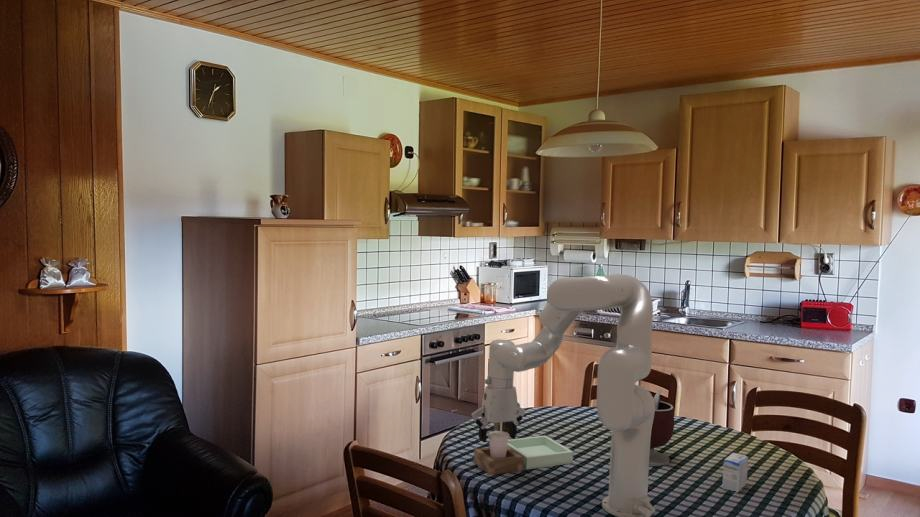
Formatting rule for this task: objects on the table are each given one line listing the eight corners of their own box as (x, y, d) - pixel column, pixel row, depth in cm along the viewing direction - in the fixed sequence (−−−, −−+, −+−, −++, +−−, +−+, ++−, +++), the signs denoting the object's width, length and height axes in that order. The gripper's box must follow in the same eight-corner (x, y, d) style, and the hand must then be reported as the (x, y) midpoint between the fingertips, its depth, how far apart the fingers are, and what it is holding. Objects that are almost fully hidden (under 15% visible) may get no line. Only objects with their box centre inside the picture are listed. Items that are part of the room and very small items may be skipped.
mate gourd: (665, 470, 192) (668, 404, 191) (620, 460, 200) (622, 396, 199) (678, 455, 205) (681, 393, 204) (635, 446, 213) (638, 386, 212)
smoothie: (507, 471, 187) (508, 423, 186) (485, 469, 188) (486, 421, 188) (509, 463, 193) (511, 417, 193) (488, 461, 195) (490, 415, 194)
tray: (572, 463, 196) (573, 451, 195) (526, 469, 189) (527, 457, 189) (544, 446, 210) (545, 435, 210) (501, 451, 204) (501, 440, 203)
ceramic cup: (496, 425, 230) (497, 398, 229) (523, 430, 226) (524, 402, 225) (482, 435, 218) (483, 406, 218) (509, 441, 214) (510, 411, 213)
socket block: (522, 470, 188) (522, 457, 188) (489, 475, 184) (490, 461, 184) (505, 458, 198) (505, 445, 198) (473, 462, 193) (474, 449, 193)
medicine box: (730, 481, 185) (732, 452, 185) (746, 486, 182) (748, 455, 182) (721, 489, 179) (723, 459, 179) (738, 494, 176) (740, 463, 176)
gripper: (479, 387, 183) (476, 446, 184) (532, 383, 190) (529, 440, 191) (468, 380, 190) (465, 437, 191) (520, 377, 197) (516, 432, 198)
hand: (497, 439), depth 191 cm, fingers open, 9 cm apart
